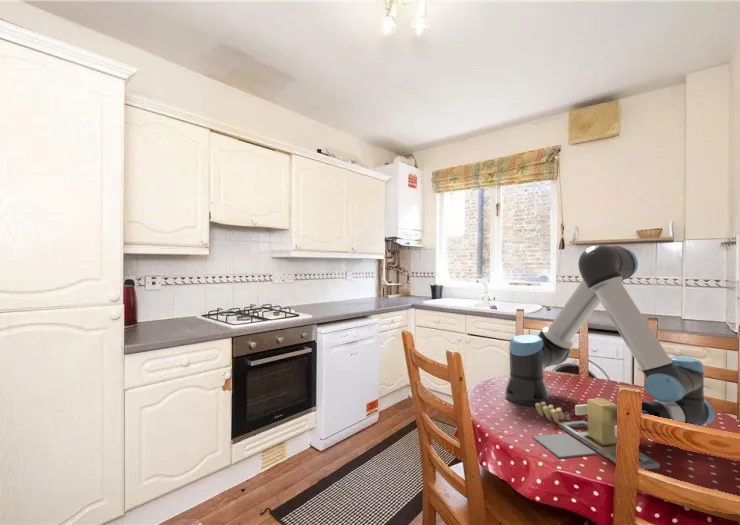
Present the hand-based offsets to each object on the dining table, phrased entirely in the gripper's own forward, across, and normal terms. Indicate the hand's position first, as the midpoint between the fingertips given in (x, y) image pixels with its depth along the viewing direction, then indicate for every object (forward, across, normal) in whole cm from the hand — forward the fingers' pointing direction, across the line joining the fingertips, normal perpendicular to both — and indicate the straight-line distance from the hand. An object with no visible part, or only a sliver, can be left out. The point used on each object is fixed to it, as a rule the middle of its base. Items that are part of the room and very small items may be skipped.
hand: (594, 420), depth 95 cm
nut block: (-3, 0, -7) cm, 8 cm away
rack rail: (-3, 0, -7) cm, 8 cm away
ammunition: (0, +18, -8) cm, 19 cm away
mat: (+9, +2, -7) cm, 11 cm away
